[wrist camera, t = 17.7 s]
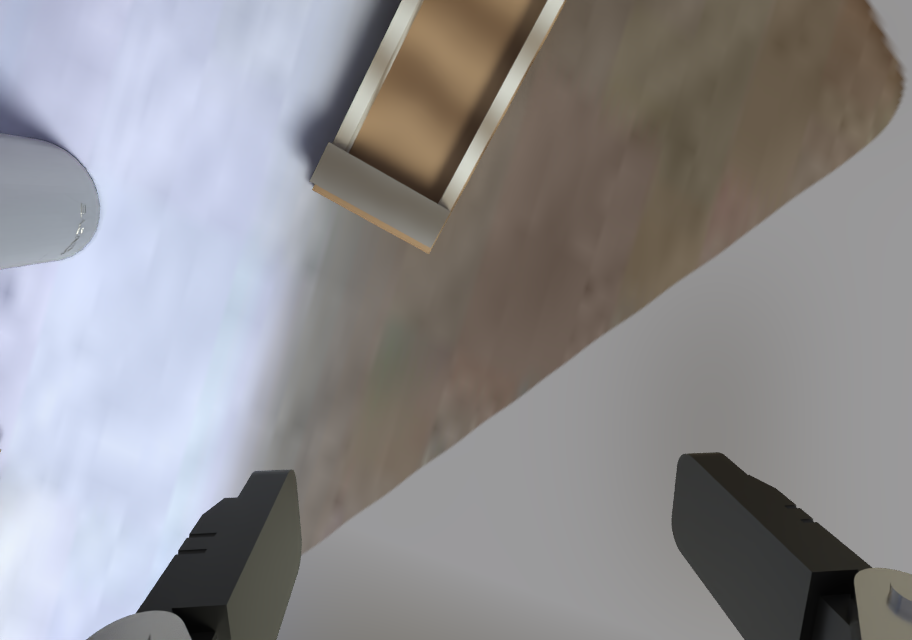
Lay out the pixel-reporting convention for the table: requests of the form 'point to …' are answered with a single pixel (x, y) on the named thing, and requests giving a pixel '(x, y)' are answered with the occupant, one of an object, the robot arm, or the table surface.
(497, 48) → the rail
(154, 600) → the robot arm
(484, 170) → the table surface
